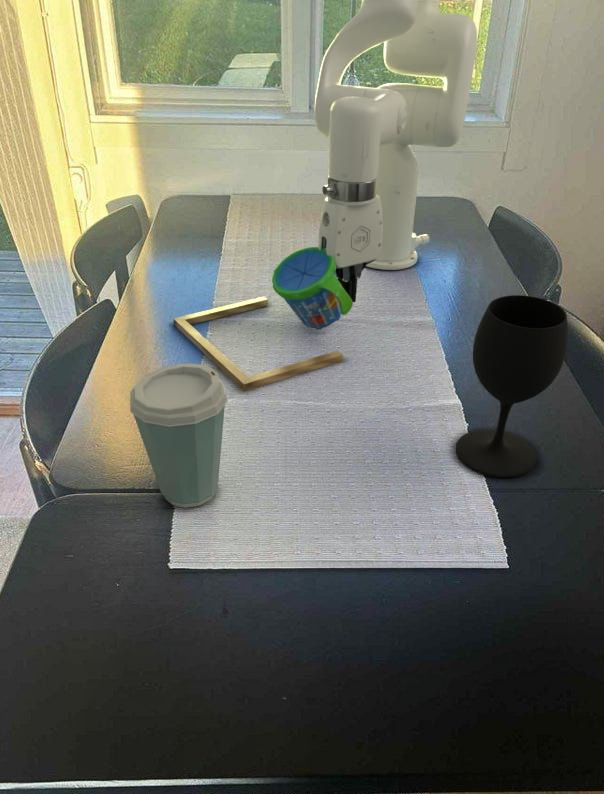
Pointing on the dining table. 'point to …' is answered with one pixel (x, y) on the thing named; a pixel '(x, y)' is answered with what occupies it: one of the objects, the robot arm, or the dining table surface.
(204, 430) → the disposable coffee cup
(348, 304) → the snack cup
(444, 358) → the dining table surface
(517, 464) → the wine glass
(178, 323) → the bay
